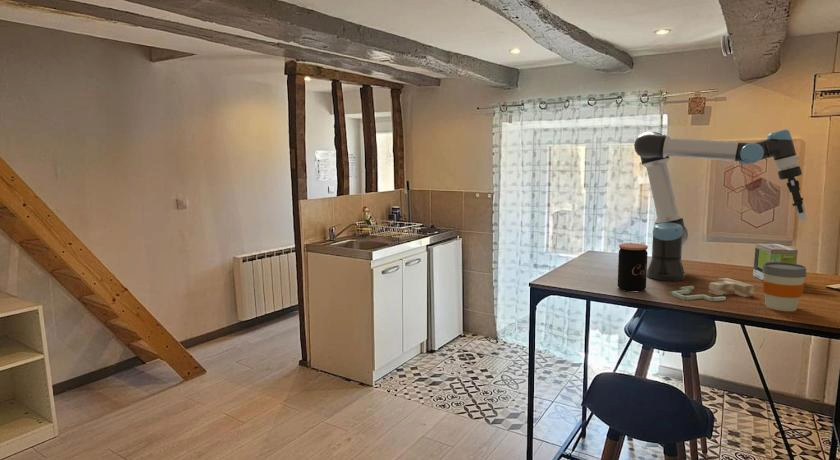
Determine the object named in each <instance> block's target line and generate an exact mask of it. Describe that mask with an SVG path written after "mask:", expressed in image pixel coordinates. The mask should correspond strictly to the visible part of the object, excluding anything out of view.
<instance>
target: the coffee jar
mask: <svg viewBox="0 0 840 460" xmlns="http://www.w3.org/2000/svg"><path fill="white" fill-rule="evenodd" d="M618 247H619V250H618V261H617V288H620V289H621V290H620V289H619V290H620V291H623V290H625V291H624V292H627V291H642V292H644V291H645V290H646V288H647V278H648V276H647V270H648V251H647V249H648V247H649V246H648V245H646V244H644V243H643V244H642V243H635V242H632V243H629V242H627V243H624V242H623V243H620V244H619V245H618ZM643 290H644V291H643Z"/></svg>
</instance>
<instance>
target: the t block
mask: <svg viewBox="0 0 840 460" xmlns="http://www.w3.org/2000/svg"><path fill="white" fill-rule="evenodd" d="M754 287H755V285H753V284H749V283H746V282H742V281H739V280H736V279H731V278H730V277H729V278H728V277H722V278H721V277H719V278H717V281H713V282H709V285H708V293H709V294H712V295H714V296H723V294H725V295H733V294H735V295H737V294H738V296H740V297H744V298H745V297H746V298H747V297H753V296H754Z"/></svg>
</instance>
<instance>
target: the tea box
mask: <svg viewBox="0 0 840 460" xmlns="http://www.w3.org/2000/svg"><path fill="white" fill-rule="evenodd" d="M797 260H798V249H795V248H793V247H790V246H787V245H785V244H784V245H783V244H779V243H755V248H754V261H753V270H752V271H753V273H752V276H753V277H754V278H757V279H759V280H761V281H762V279H764V276H763V272H762V270H763V265H764V263H767V262H785V263H793V264H798V263H797Z"/></svg>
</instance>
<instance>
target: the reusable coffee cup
mask: <svg viewBox="0 0 840 460" xmlns="http://www.w3.org/2000/svg"><path fill="white" fill-rule="evenodd" d="M762 272H763V276H764V279H762V280H761V282H762V291H763V293H764V302H765V307H766V308H768V309H771V310H774V311H780V312H795V311H797V310H798V306H799V302H800V298H801V297H802V296H803V293H804V288H805V285H806V283H805V278H806V277H807V266H805V265H802V264H798V263H796V264H793V263H785V262H767V263H764V265H763V270H762Z"/></svg>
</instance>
